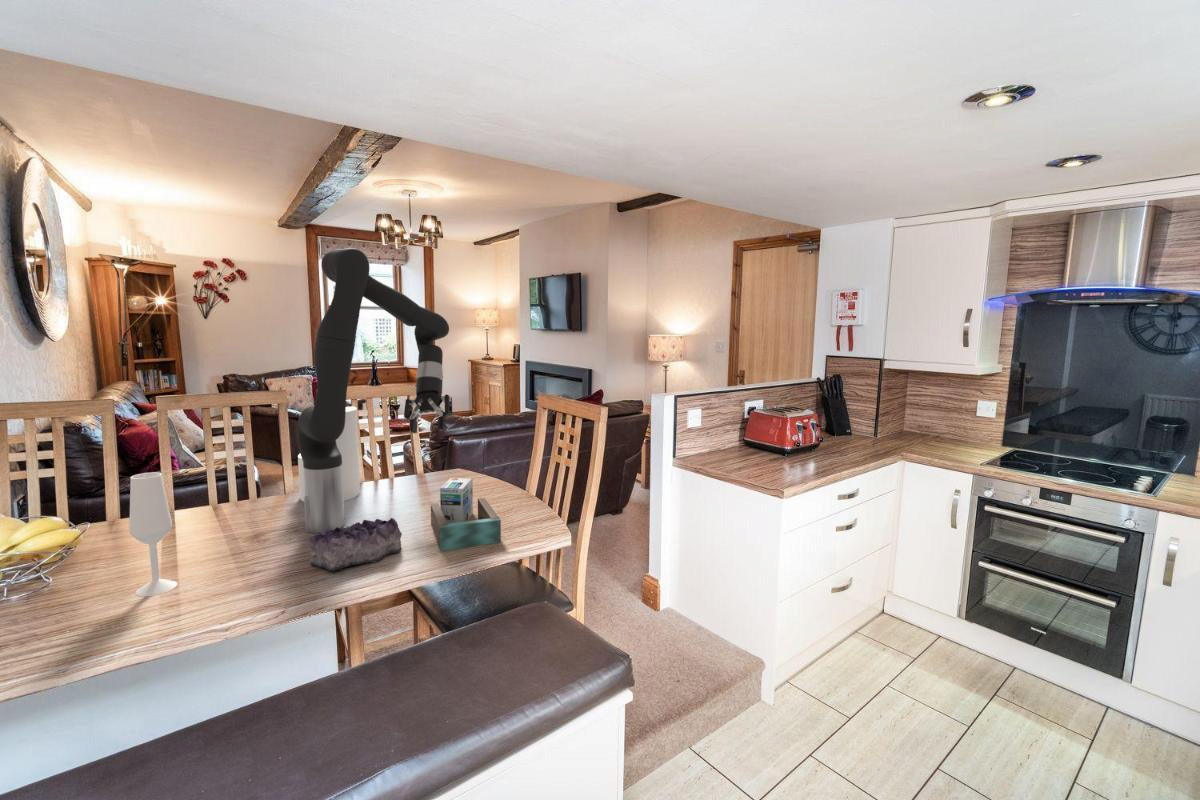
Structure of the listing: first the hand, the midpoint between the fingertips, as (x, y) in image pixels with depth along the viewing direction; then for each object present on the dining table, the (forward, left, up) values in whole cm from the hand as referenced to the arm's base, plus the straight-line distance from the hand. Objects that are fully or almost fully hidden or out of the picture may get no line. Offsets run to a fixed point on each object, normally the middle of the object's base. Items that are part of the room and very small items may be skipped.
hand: (427, 431), depth 156 cm
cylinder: (-27, +27, -24) cm, 45 cm away
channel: (+7, -21, -24) cm, 33 cm away
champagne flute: (-57, -28, -24) cm, 68 cm away
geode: (-19, -27, -25) cm, 41 cm away
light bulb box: (+7, -9, -24) cm, 27 cm away
